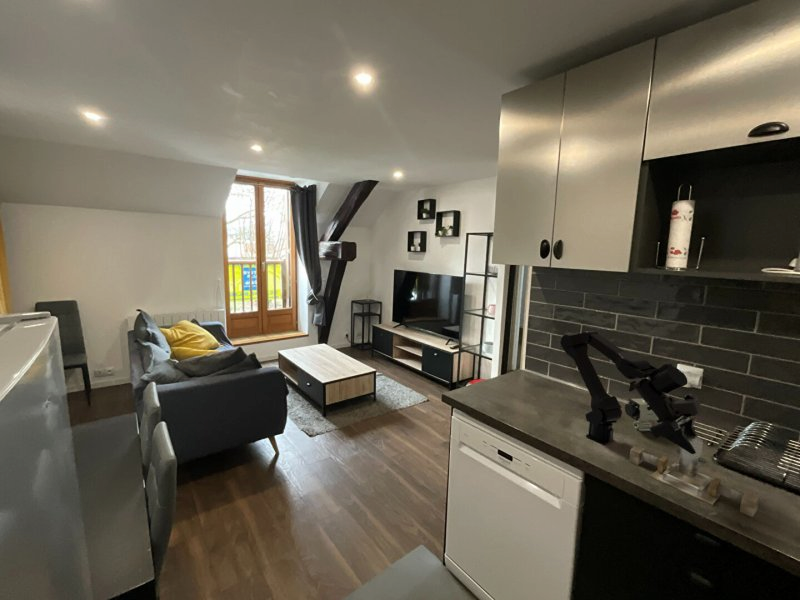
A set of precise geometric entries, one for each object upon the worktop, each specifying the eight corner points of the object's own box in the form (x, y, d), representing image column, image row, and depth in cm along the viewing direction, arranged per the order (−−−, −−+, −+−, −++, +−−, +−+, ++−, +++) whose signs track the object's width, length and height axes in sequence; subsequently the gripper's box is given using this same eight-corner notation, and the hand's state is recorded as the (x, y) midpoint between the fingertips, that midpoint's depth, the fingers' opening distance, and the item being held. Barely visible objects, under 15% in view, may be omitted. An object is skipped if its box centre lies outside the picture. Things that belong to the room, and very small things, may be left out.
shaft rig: (624, 464, 109) (626, 451, 109) (639, 453, 115) (640, 441, 114) (749, 522, 87) (752, 506, 86) (759, 505, 92) (762, 490, 91)
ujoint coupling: (671, 468, 101) (676, 436, 100) (677, 463, 104) (682, 431, 102) (701, 481, 96) (706, 447, 94) (706, 475, 99) (711, 442, 97)
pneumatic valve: (622, 426, 132) (625, 396, 130) (652, 425, 133) (655, 395, 131) (632, 434, 127) (636, 402, 125) (663, 433, 128) (668, 401, 126)
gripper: (668, 394, 94) (716, 452, 87) (693, 379, 105) (738, 430, 98) (632, 410, 102) (673, 465, 95) (659, 395, 113) (698, 443, 105)
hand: (697, 450), depth 98 cm, fingers closed on ujoint coupling, 4 cm apart
